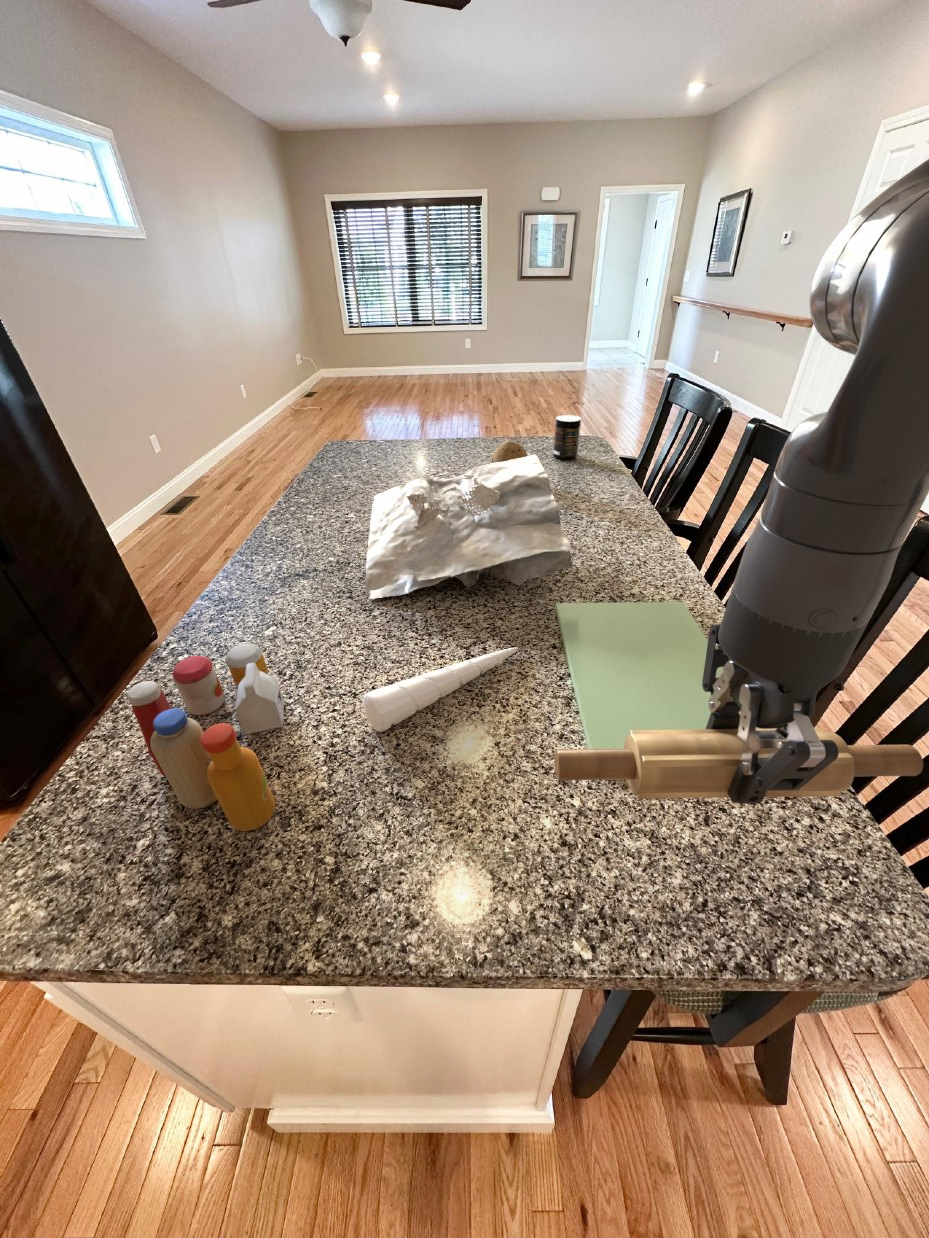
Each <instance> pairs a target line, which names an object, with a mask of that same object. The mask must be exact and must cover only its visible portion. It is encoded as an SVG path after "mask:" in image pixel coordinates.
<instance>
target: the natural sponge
mask: <svg viewBox="0 0 929 1238" xmlns="http://www.w3.org/2000/svg"><path fill="white" fill-rule="evenodd" d="M526 456H528V453H527V450H526V449H525V447H524V446H523V445H522V444H520V443H519V442H517V441H514V440H505V441H503V442H501V443H500V444H499V445H498V446H497V447H496V448H495V450H494V451H493V454H492V456H491V458H490V464H491V463H496V462H504V461H508V460H511V459H516V458H522V457H526Z"/></svg>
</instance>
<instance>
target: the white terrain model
mask: <svg viewBox="0 0 929 1238" xmlns="http://www.w3.org/2000/svg"><path fill="white" fill-rule="evenodd" d="M371 509H372V510H371V514H370V515H371V516H370V521H369V522H370V524H369V532H368V542H367V549H366V550H367V551H366V560H365V561H366V562H365V563H366V564H365V565H366V567H365V590H366V592H369V594H368V595H369V596H368V597H367V599H368V600H375V599H379V598H380V599H382V598H385V597H386V598H389V597H396V596H397V597H398V596H403V595H406V594H409V593H412V592H413V591H415V590H418V589H423V588H427V587H428V588H430V587H431V586H436V585H437V584H439V583H440V582H442V581H444V580H446V579H448V578H453V577H455V578H457V579H458V580H459V581H461V582H462V584H463V585H464V587H467V589H470V588H471V587H472V586H474V585H475V584H476V583H477V582H478V580H479V578H480V573H487V574H491V575H493V576H495V577H498V578H499V579H502V580H506V581H509V582H511V583H513V584H514V585H516V586H521V585H522V584H523V583H524V582H526V581H527V580H533V579H536V578H539V577H540V578H541V577H545V576H547V575H548V576H549V575H551V574H554V573H556V572H557V571H559V570H568V569H570V570H573V569H574V568H573V567H574V566H573V561H572V555H571V551H572V550H573V547H572V544H570V539H568V534H567V533H566V531H565V528H564V524H563V523H565V522H564V521H563V522H562V521H561V516H560V515H561V514H560V510H559V507H558V504H557V502H556V499H555V497H554V495H553V493H552V489H551V485H550V480H549V476H548V474H547V472H546V469H545V468H544V467H543V465H542V463H541V461H540V459H539V457H538V456H537V454H532V455H527V456H526V457H522V458H516V459H511V460H508V461H504V462H496V463H491V462H490V463H487V464H482V465H479V466H476V467H474V468H472V469H470V470H469V471H466V472H465V473H462V474H460V475H458V476H455V477H451V478H450V477H449V478H444V479H441V478H440V479H438V478H437V479H432V478H430V477H427V476H425V477H424V476H423V477H419V478H415V479H413V480H410V481H409V482H407V483H402V484H399V485H396V486H394V487H392V488H389V489H387V490H386V491H382V492H379V493H377V494H374V496H373V503H372V508H371Z"/></svg>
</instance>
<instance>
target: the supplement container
mask: <svg viewBox="0 0 929 1238" xmlns="http://www.w3.org/2000/svg"><path fill="white" fill-rule="evenodd" d="M581 425H582V417H581V416H578V415H573V414H563V415H558V416H556V417H555V423H554V438H553V447H552V449H553V451H552V456H553V458H554V459H555V460H559V461H566V462H567V461H573V460H575V459H576V458H577V457H578V451H579V442H580V435H581V434H580V432H581Z"/></svg>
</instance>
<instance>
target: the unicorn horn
mask: <svg viewBox="0 0 929 1238" xmlns="http://www.w3.org/2000/svg"><path fill="white" fill-rule="evenodd" d="M519 649H520V647H519V646H515V647H509V648H506V649H500V650H498V651H497V650H496V651H494V652H491V653H487V654H483V655H480V656H477V657H474V658H471V659H468V660H465V661H461V662H458V663H455V664H452V665H448V666H445V667H443V668H439V669H437V670H431V671H429V672H426V673H423V674H421V675H418V676H415V677H411V678H408V679H405V680H402V681H398V682H395V683H393V684H389V685H386V686H382V687H379V688H376V689H374V690H370V691H368V692H367V693H365V695H364V696H363V698H362V707H363V711H364V714H365V717H366V719H367V721H368V722H369V724H370V727H372V728H373V730H375V731H377V732H379V733H382V732H385V731H387V730H389V729H390V728H392V725H394V726H395V725H397V724H399V723H401V722H402V721H404V720H406V719H407V718H410V717H411V716H413V715H414V714H416V713H417V711H418V712H419V711H421V710H423V709H425V708H427V707H428V706H430V705H432V704H434V703H436V702H437V701H439V700H440V699H439V698H441V699H442V698H444V697H445V696H448V695H449V694H451V693H453V692H455V690H457V689H459V688H461V685H462V686H464V685H466V684H467V683H469V682H472V681H473V680H475V679H476V678H478V677H480V676H481V673H482V674H485V673H487V671H489V670H491V669H492V668H493V667H496V666H497V665H499V662H503V661H505V660H506V659H508V658H509V657H511V656H512V655H513V654H515V653H516V651H518V650H519Z"/></svg>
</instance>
